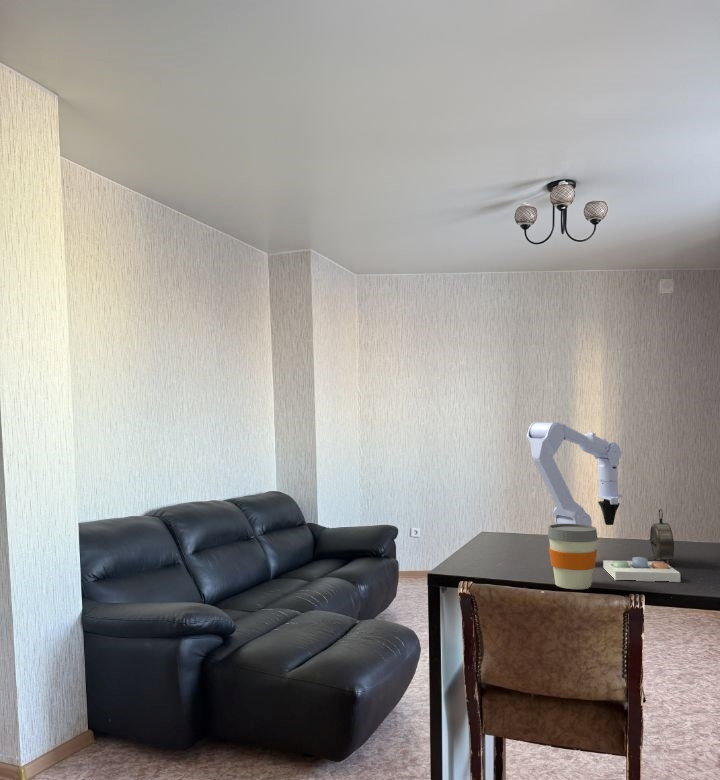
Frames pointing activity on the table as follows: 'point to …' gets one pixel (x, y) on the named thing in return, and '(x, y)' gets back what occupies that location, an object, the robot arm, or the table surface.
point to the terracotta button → (659, 565)
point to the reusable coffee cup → (572, 554)
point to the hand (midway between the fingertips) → (609, 524)
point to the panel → (641, 572)
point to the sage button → (620, 564)
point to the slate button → (639, 562)
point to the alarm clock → (662, 541)
